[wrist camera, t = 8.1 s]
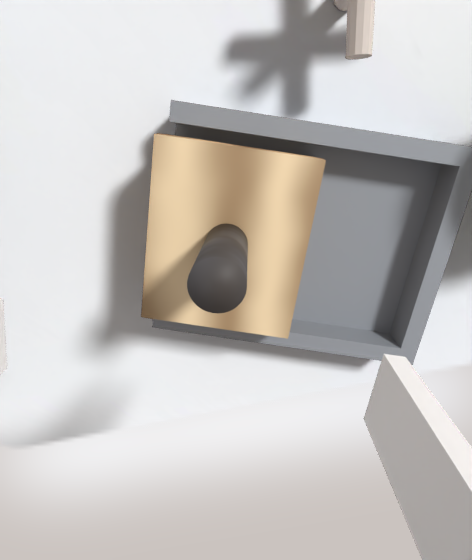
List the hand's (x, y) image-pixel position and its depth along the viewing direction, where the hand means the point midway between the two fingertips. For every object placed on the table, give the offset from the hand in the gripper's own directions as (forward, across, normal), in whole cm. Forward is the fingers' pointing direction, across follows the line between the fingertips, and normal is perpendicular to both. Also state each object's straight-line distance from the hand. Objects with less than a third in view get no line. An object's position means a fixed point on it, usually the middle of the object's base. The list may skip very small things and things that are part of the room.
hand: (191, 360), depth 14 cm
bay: (+24, +7, 0) cm, 25 cm away
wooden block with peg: (+23, 0, 0) cm, 23 cm away
